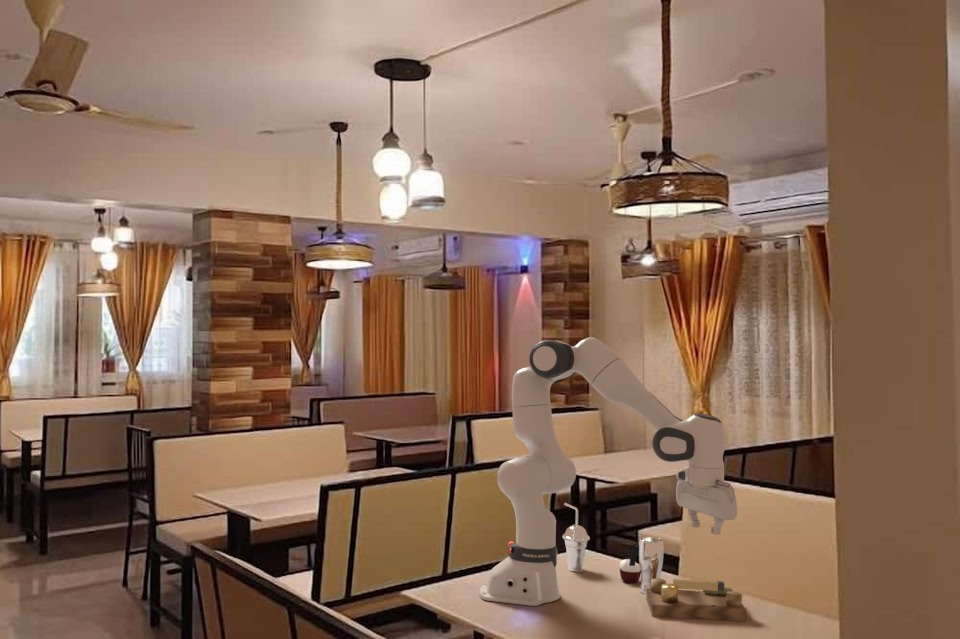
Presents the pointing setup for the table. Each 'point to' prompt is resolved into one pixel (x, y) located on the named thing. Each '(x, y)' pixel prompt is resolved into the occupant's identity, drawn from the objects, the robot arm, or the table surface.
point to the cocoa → (630, 567)
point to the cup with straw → (575, 544)
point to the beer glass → (650, 560)
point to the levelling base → (697, 603)
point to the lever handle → (671, 590)
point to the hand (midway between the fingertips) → (705, 530)
